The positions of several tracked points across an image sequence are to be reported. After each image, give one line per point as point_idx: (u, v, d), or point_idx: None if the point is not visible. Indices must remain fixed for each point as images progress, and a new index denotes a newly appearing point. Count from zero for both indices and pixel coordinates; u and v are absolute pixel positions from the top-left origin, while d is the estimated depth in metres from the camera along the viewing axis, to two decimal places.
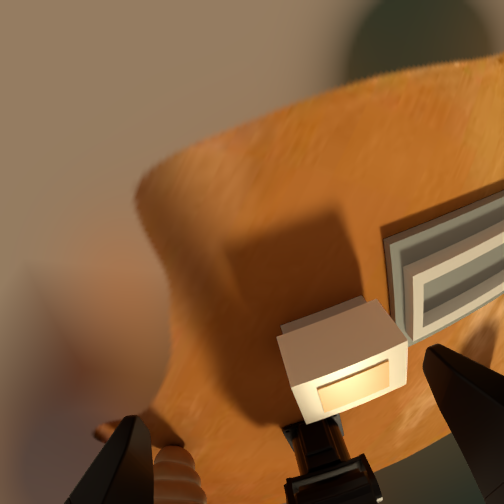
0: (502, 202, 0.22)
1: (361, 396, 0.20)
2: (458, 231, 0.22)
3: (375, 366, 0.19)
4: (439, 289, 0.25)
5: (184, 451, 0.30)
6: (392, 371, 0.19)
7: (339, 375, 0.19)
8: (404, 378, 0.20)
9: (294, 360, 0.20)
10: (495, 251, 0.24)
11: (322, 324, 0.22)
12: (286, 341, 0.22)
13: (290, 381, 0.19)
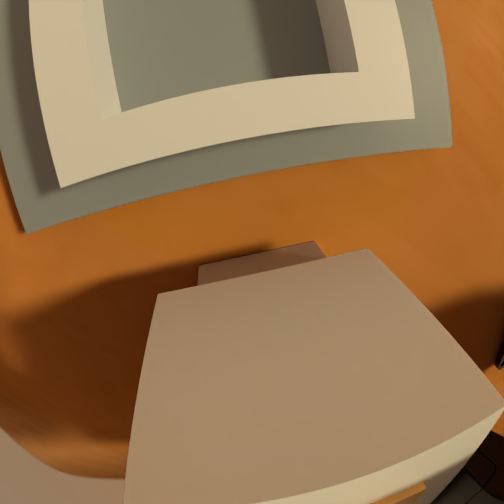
0: None
1: None
2: None
3: None
4: None
5: None
6: None
7: None
8: (456, 439, 0.03)
9: None
10: None
11: None
12: None
13: None
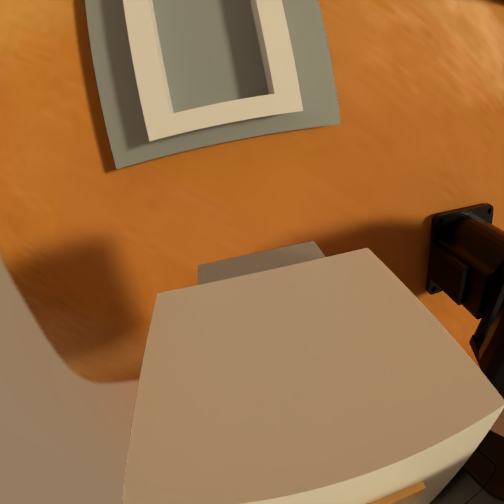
0: None
1: None
2: (115, 39, 0.12)
3: None
4: (220, 50, 0.13)
5: None
6: None
7: None
8: (456, 438, 0.03)
9: None
10: None
11: None
12: None
13: None
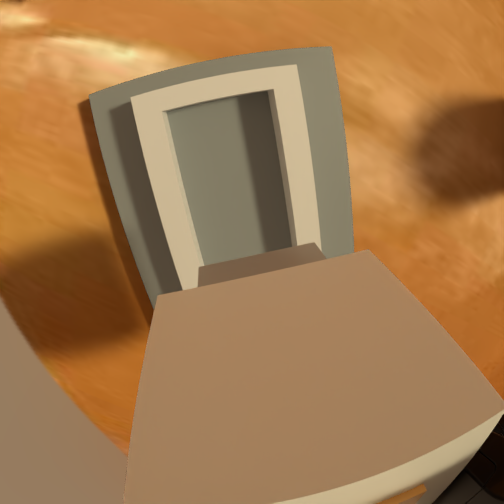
0: (132, 222, 0.16)
1: None
2: None
3: None
4: None
5: None
6: None
7: None
8: (457, 441, 0.03)
9: None
10: (228, 215, 0.16)
11: None
12: None
13: None
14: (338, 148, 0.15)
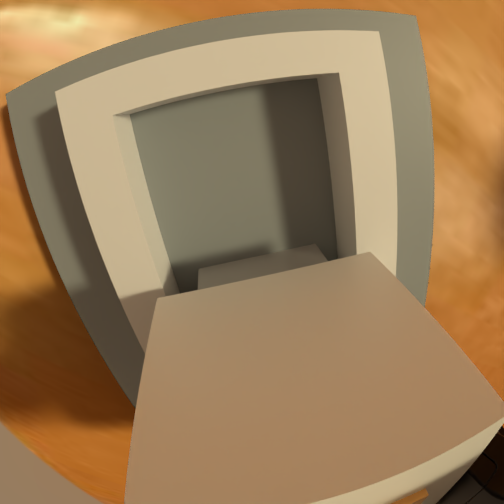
0: (88, 303, 0.09)
1: None
2: None
3: None
4: None
5: None
6: None
7: None
8: (460, 447, 0.03)
9: None
10: None
11: None
12: None
13: None
14: (423, 183, 0.09)
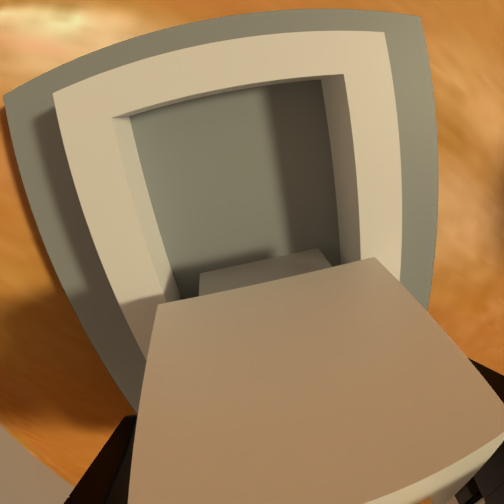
0: (87, 308, 0.09)
1: None
2: None
3: None
4: None
5: None
6: None
7: None
8: (466, 458, 0.03)
9: None
10: None
11: None
12: None
13: None
14: (427, 186, 0.09)
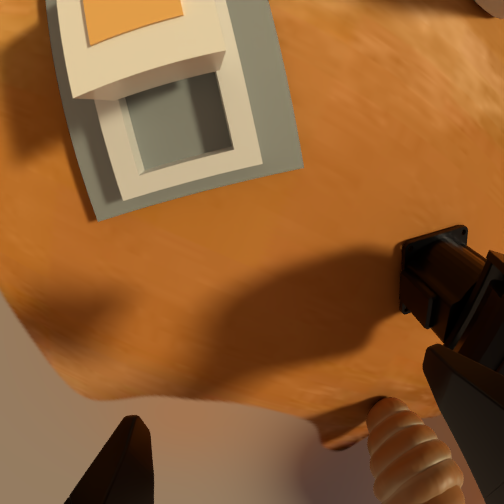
0: (55, 13, 0.11)
1: None
2: None
3: None
4: (183, 105, 0.15)
5: (379, 405, 0.28)
6: None
7: (73, 12, 0.07)
8: None
9: None
10: None
11: None
12: None
13: None
14: None
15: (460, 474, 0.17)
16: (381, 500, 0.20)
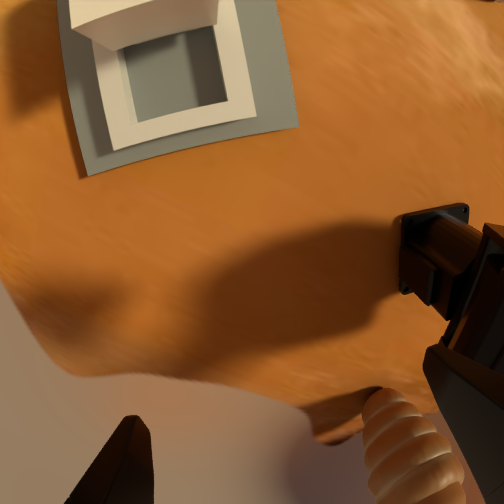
0: None
1: None
2: (84, 54, 0.13)
3: None
4: (180, 61, 0.14)
5: (376, 395, 0.27)
6: None
7: None
8: None
9: None
10: None
11: None
12: None
13: (76, 29, 0.08)
14: None
15: (461, 470, 0.16)
16: (376, 496, 0.19)
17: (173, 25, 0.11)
